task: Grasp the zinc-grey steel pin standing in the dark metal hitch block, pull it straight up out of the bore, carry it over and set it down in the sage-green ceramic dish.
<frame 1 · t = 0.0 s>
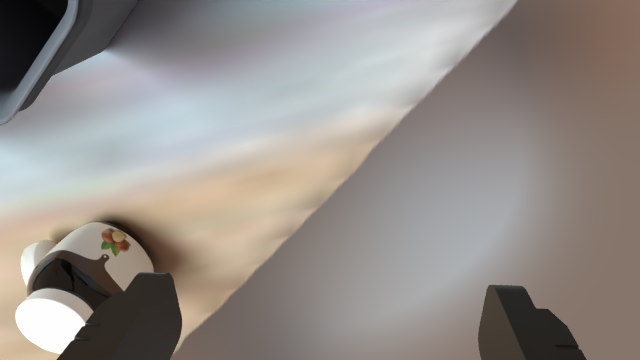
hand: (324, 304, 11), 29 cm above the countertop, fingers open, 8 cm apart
spread jar: (103, 251, 49), on the countertop
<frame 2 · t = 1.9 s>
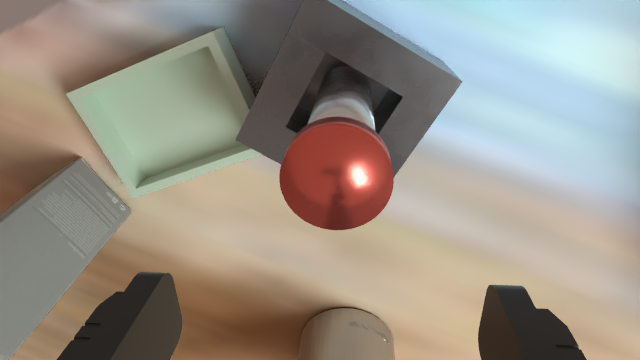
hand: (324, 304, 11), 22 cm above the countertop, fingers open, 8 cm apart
pin: (344, 91, 30), point 1 cm above the countertop, touching hitch block
dish: (181, 113, 33), on the countertop
skincare box: (81, 206, 38), on the countertop
hitch block: (345, 87, 31), on the countertop
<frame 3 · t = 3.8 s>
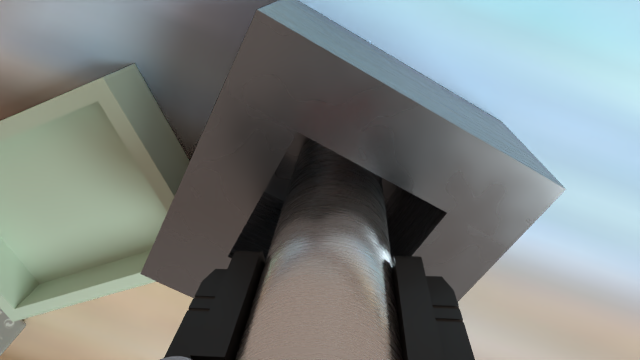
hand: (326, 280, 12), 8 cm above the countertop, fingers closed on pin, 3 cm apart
pin: (337, 169, 18), point 1 cm above the countertop, touching gripper, hitch block
dish: (82, 193, 21), on the countertop
hitch block: (338, 160, 19), on the countertop
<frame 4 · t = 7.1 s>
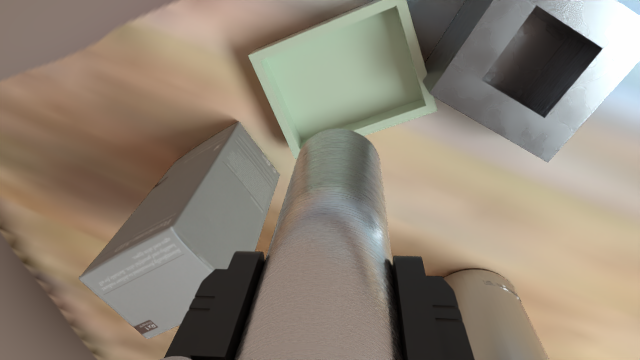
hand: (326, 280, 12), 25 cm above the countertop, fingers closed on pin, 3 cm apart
pin: (338, 168, 18), point 18 cm above the countertop, touching gripper
dish: (344, 76, 34), on the countertop
skincare box: (228, 171, 39), on the countertop
hitch block: (510, 48, 32), on the countertop
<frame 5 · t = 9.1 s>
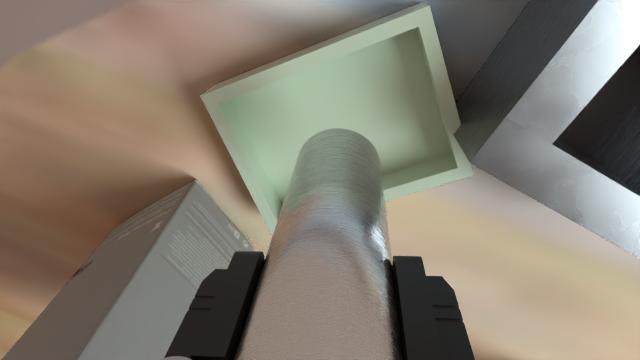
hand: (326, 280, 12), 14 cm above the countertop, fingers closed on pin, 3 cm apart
pin: (338, 168, 18), point 7 cm above the countertop, touching gripper
dish: (341, 121, 24), on the countertop
skincare box: (185, 240, 29), on the countertop
hitch block: (578, 86, 22), on the countertop
when the fingers open (9 cm above the countertop, at t = 10.5 s): pin drops 1 cm, resting on dish.
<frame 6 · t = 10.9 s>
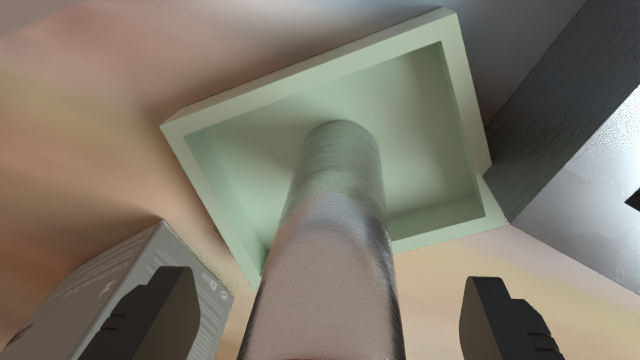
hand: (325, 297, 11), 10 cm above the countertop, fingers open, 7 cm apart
pin: (340, 157, 19), point 1 cm above the countertop, touching dish
dish: (338, 153, 20), on the countertop
skincare box: (154, 287, 25), on the countertop
hitch block: (638, 114, 18), on the countertop
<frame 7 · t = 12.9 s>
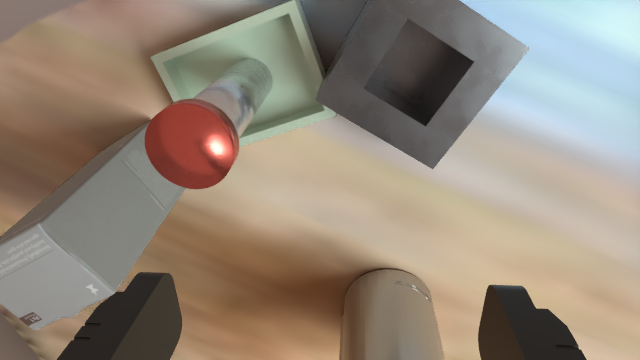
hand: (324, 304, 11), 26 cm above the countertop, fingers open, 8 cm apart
pin: (250, 80, 34), point 1 cm above the countertop, touching dish
dish: (251, 78, 35), on the countertop
skincare box: (146, 168, 40), on the countertop
hitch block: (407, 57, 33), on the countertop
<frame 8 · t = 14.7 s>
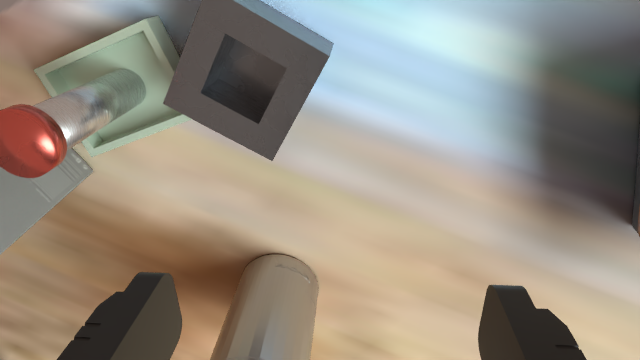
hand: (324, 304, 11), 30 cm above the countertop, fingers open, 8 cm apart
pin: (127, 87, 40), point 1 cm above the countertop, touching dish
dish: (129, 86, 40), on the countertop
skincare box: (52, 167, 45), on the countertop
hitch block: (258, 65, 38), on the countertop
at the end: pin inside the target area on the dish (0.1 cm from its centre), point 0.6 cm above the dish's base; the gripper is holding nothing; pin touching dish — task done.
